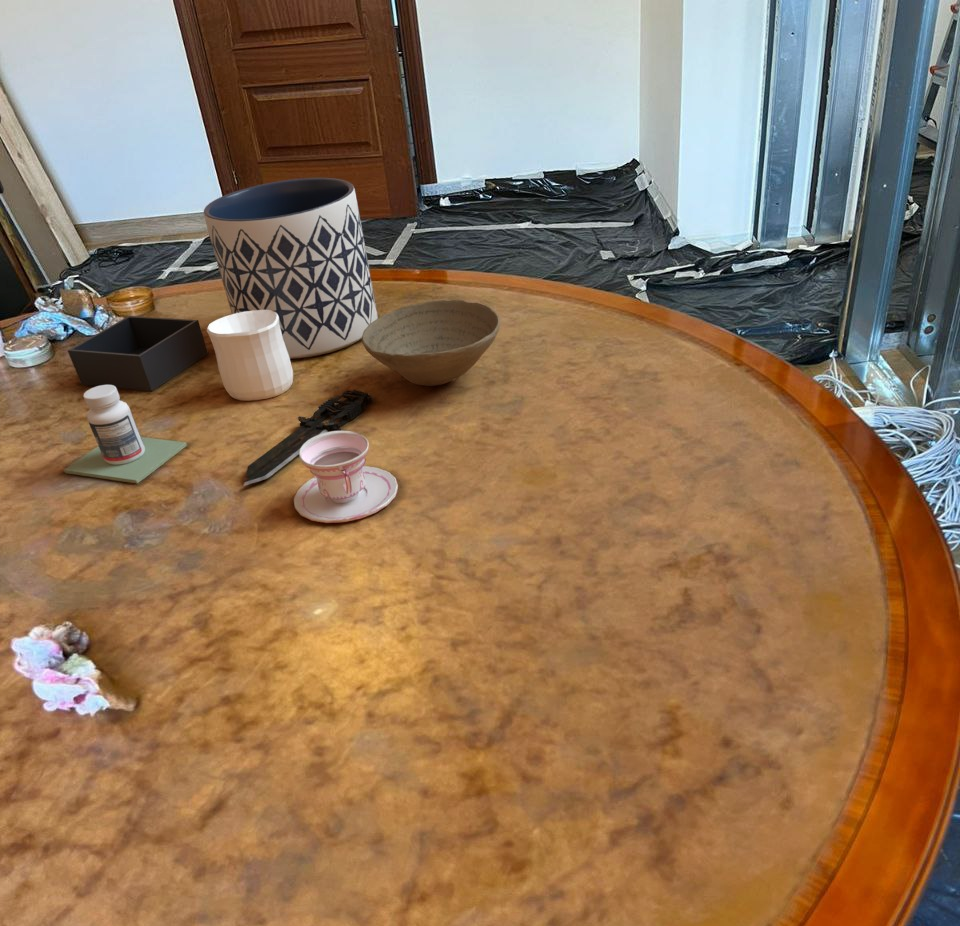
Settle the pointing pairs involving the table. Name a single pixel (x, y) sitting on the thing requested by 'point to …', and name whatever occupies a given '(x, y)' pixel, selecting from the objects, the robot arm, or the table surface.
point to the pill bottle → (113, 425)
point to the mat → (129, 472)
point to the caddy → (139, 352)
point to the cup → (251, 355)
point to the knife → (306, 427)
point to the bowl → (432, 339)
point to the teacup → (341, 479)
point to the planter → (296, 260)
